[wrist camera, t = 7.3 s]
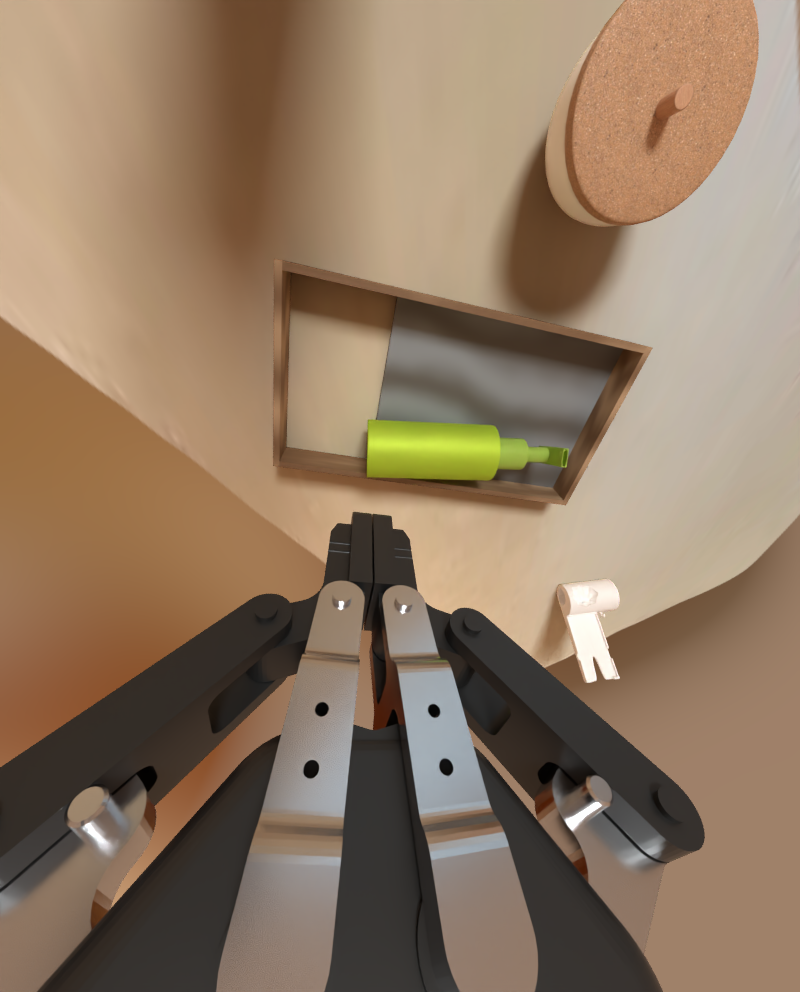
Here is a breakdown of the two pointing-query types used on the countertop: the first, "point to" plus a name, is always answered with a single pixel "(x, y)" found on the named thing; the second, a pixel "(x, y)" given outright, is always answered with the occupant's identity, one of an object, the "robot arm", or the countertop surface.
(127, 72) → the countertop surface
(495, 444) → the soap dispenser
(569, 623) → the plastic part
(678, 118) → the lidded jar
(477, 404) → the wooden tray
